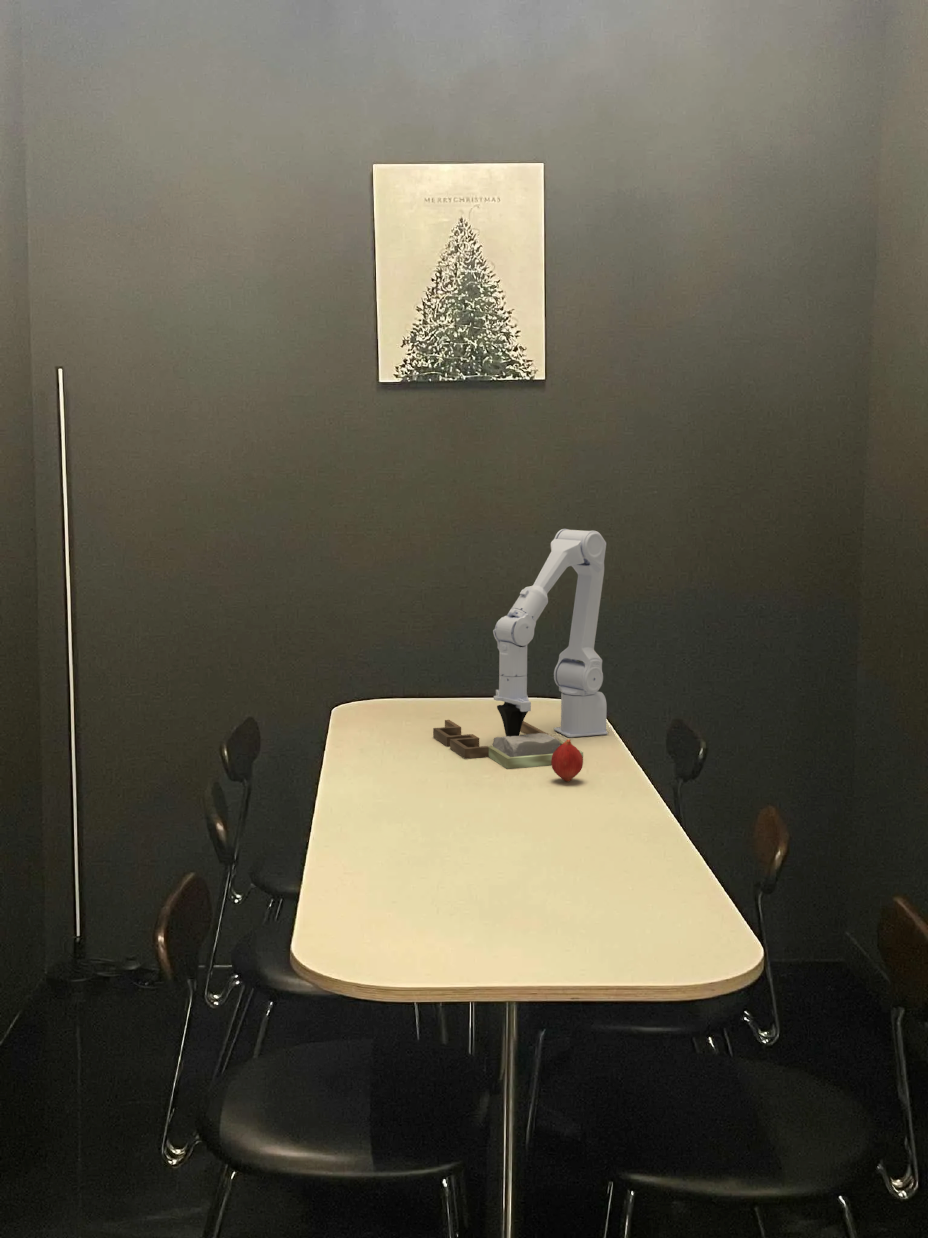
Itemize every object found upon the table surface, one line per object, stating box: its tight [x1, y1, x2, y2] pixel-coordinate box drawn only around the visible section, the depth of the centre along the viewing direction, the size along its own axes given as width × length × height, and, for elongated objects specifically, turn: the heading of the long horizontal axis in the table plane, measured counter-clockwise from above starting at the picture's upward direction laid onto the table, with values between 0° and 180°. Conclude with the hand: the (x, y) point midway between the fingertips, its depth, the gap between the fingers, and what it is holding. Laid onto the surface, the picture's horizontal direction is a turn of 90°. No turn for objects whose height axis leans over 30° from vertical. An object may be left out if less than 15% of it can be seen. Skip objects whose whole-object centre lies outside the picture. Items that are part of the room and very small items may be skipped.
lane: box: [432, 719, 584, 770], centre depth 249 cm, size 21×37×2 cm, turn 20°
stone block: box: [492, 733, 560, 757], centre depth 244 cm, size 12×5×10 cm
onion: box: [551, 738, 584, 783], centre depth 221 cm, size 6×6×8 cm
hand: (512, 739), depth 249 cm, fingers closed
